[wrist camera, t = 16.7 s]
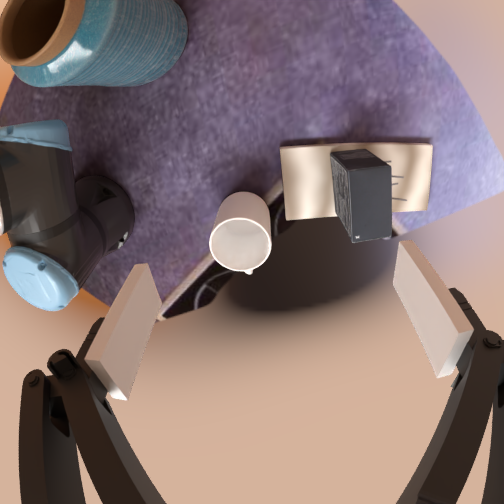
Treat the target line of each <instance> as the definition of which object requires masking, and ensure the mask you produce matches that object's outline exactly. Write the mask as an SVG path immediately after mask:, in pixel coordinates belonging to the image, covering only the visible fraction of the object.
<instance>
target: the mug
mask: <svg viewBox="0 0 504 504" xmlns="http://www.w3.org/2000/svg"><path fill="white" fill-rule="evenodd" d="M209 246H210V250H211V253H212V255H213V257H214V258H215V259H216V261H217V262H218V263H220V264H221V265H222V266H224V267H226V268H228V269H231V270H235V271H245V272H246V273H247V274H251V273H252V269H254V268H257V267H258V266H260V265H261V264H263V263H264V261H265V260H266V259H267V258H268V256H269V254H270V250H271V229H270V214H269V209H268V207H267V205H266V203H265V202H264V201H263V200H262V199H261V198H260V197H259V196H257V195H256V194H253V193H250V192H237V193H234V194H232V195H230V196H228V197H227V198H226V199H225V200H224V201H223V202H222V204H221V205H220V208H219V210H218V213H217V216H216V220H215V223H214V226H213V229H212V233H211V236H210V241H209Z"/></svg>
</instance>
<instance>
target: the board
mask: <svg viewBox="0 0 504 504" xmlns="http://www.w3.org/2000/svg"><path fill="white" fill-rule="evenodd" d="M432 147H433V145H431V144H429V143H336V144H315V145H300V146H287V147H280V157H281V168H282V179H283V190H284V202H285V214H286V220H295V219H306V218H318V217H330V216H337V214H336V213H335V202H334V192H333V180H332V169H331V160H330V153H331V152H336V151H346V150H356V149H367V150H368V151H370V152H371V153H373V154H374V155H376V156H377V157H378V158H380V159H381V160H383V161H384V162H386V163H387V164H389V165H390V166H391V167H392V212H404V211H421V210H427V206H428V198H429V189H430V178H431V165H432Z"/></svg>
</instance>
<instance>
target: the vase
mask: <svg viewBox="0 0 504 504" xmlns="http://www.w3.org/2000/svg"><path fill="white" fill-rule="evenodd" d="M187 36H188V25H187V20H186V17H185V14H184V12H183V11H182V9H181V7H180V6H179V5H178V4H177V3H176V2H175V1H174V0H9V1H8V2H7V4H6V6H5V8H4V10H3V12H2V14H1V17H0V56H1V57H2V59H3V60H4V61H5V62H7V63H8V64H10V65H11V67H12V69H13V71H14V73H15V74H16V75H17V76H18V78H20V79H21V80H22V81H23V82H25V83H27V84H29V85H32V86H35V87H55V86H83V85H87V86H89V85H90V86H93V85H94V86H96V85H98V86H114V87H116V86H119V87H134V86H140V85H144V84H147V83H150V82H152V81H154V80H156V79H158V78H160V77H161V76H163V75H164V74H165V73H167V72H168V71H169V70H170V69H171V68H172V67H173V66H174V65H175V63H176V62H177V61H178V59H179V58H180V56H181V54H182V52H183V50H184V48H185V45H186V41H187Z"/></svg>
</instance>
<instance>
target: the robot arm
mask: <svg viewBox="0 0 504 504" xmlns="http://www.w3.org/2000/svg"><path fill="white" fill-rule="evenodd" d="M71 152H72V148H71V147H70V140H69V133H68V127H67V125H66V124H65V123H64V122H63V121H62V120H58V119H54V120H45V121H37V122H30V123H24V124H18V125H12V126H7V127H1V128H0V236H1V235H3V234H4V233H6V232H7V234H8V238H9V241H10V244H11V248H9V249H8V250H7V251H6V254H5V256H4V260H3V270H4V273H5V275H6V278H7V280H8V282H9V283H10V284H11V286H12V287H13V289H14V290H15V291H16V292H17V293H18V294H19V295H20V296H21V297H22V298H23V299H25V300H26V301H27V302H29V303H30V304H32V305H34V306H36V307H38V308H40V309H43V310H47V311H58V310H61V309H63V308H65V307H66V306H67V305H68V304H69V302H70V301H71V300H72V299H73V297H75V296H76V295H77V294H78V292H79V290H80V289H81V287H82V286H83V284H84V283H85V281H86V280H87V278H88V277H89V275H90V274H91V272H92V271H93V269H94V268H95V267H96V265H97V264H98V262H99V261H100V259H101V258H102V257H104V256H106V255H108V254H110V253H112V252H114V251H116V250H118V249H119V248H120V247H122V246H123V245H124V243H125V242H126V241H127V239H128V238H129V237H130V235H131V233H132V230H133V227H134V212H133V207H132V204H131V202H130V200H129V198H128V196H127V195H126V193H125V192H124V191H123V189H122V188H121V187H120V186H119V185H117V184H116V183H115V182H113V181H112V180H110V179H108V178H105V177H102V176H95V175H93V176H87V177H84V178H82V179H80V180H78V181H77V182H76V183H75V178H74V171H73V163H72V155H71ZM393 285H394V287H395V289H396V291H397V293H398V295H399V297H400V299H401V301H402V303H403V305H404V307H405V309H406V311H407V313H408V315H409V317H410V319H411V321H412V323H413V325H414V328H415V329H416V332H417V334H418V336H419V338H420V340H421V343H422V345H423V347H424V349H425V351H426V354H427V356H428V358H429V361H430V363H431V365H432V367H433V370H434V372H435V375H436V377H437V378H439V377H443V376H447V375H450V374H452V372H453V370H454V368H455V367H456V366H457V368H458V370H459V373H458V375H457V377H456V379H455V380H454V382H453V384H452V385H451V387H453V389H452V391H451V394H450V397H449V399H448V402H447V405H446V407H445V410H444V412H443V415H442V417H441V420H440V422H439V424H438V426H437V429H436V431H435V433H434V435H433V437H432V440H431V442H430V444H429V446H428V448H427V450H426V452H425V454H424V456H423V458H422V460H421V462H420V464H419V465H418V467H417V469H416V471H415V473H414V475H413V476H412V478H411V480H410V482H409V483H408V485H407V487H406V488H405V490H404V492H403V493H402V495H401V496H400V498H399V500H398V501H397V503H396V504H456V502H457V500H458V498H459V496H460V494H461V491H462V489H463V487H464V485H465V483H466V480H467V478H468V475H469V473H470V471H471V468H472V466H473V463H474V461H475V458H476V455H477V453H478V450H479V447H480V444H481V441H482V438H483V435H484V432H485V429H486V426H487V422H488V419H489V415H490V412H491V408H492V404H493V420H492V435H491V447H490V457H489V464H488V471H487V477H486V483H485V488H484V494H483V499H482V503H481V504H504V340H502V339H501V337H500V336H499V335H498V334H497V333H495V332H493V331H489V330H486V328H485V327H484V325H483V324H482V322H481V321H480V319H479V318H478V316H477V314H476V313H475V311H474V310H473V309H472V307H471V305H470V304H469V303H468V301H467V300H466V298H465V297H464V295H463V294H462V293H461V292H459V291H458V290H457V289H455V288H450V289H448V288H447V287H446V285H445V284H444V282H443V281H442V280H441V278H440V277H439V275H438V274H437V273H436V271H435V270H434V269H433V267H432V266H431V264H430V263H429V262H428V260H427V259H426V258H425V257H424V255H423V254H422V253H421V251H420V250H419V248H418V247H417V246H416V245H415V243H414V242H413V241H412V240H407V241H400V242H399V247H398V255H397V261H396V267H395V273H394V279H393ZM161 305H162V302H161V299H160V297H159V294H158V291H157V289H156V286H155V283H154V280H153V278H152V275H151V272H150V269H149V266H148V263H146V264H135V265H134V267H133V269H132V271H131V272H130V274H129V276H128V277H127V279H126V281H125V283H124V284H123V286H122V288H121V290H120V291H119V293H118V295H117V297H116V299H115V300H114V302H113V304H112V306H111V308H110V310H109V311H108V313H107V315H106V317H105V318H99V319H98V320H97V321H96V322H95V323H94V324H93V326H92V327H91V329H90V331H89V334H88V335H87V337H86V339H85V341H84V343H83V344H82V346H81V348H80V350H79V352H78V354H77V356H76V358H75V357H74V356H73V354H72V353H71V351H69V350H67V349H62V350H58V351H56V352H55V353H54V354H52V356H51V357H50V358H49V360H48V362H47V367H48V369H49V370H50V371H51V372H52V374H53V375H51V376H46V375H45V374H44V373H43V372H42V371H41V370H39V369H36V370H33V371H31V372H29V373H28V374H27V375H26V377H25V378H24V381H23V386H22V395H21V407H20V423H19V478H20V493H21V502H22V504H86V503H85V497H84V492H83V487H82V481H81V475H80V469H79V462H78V455H77V447H76V443H77V446H78V449H79V451H80V454H81V456H82V459H83V461H84V463H85V466H86V468H87V471H88V473H89V475H90V478H91V480H92V482H93V484H94V486H95V489H96V491H97V493H98V495H99V497H100V499H101V501H102V503H103V504H166V503H165V501H164V500H163V498H162V497H161V495H160V494H159V492H158V491H157V489H156V488H155V486H154V485H153V483H152V482H151V480H150V478H149V477H148V475H147V474H146V472H145V470H144V469H143V467H142V465H141V464H140V462H139V460H138V458H137V457H136V455H135V453H134V451H133V450H132V448H131V446H130V444H129V442H128V441H127V439H126V437H125V435H124V433H123V431H122V429H121V427H120V425H119V423H118V421H117V419H116V417H115V415H114V413H113V411H112V408H111V406H110V404H109V402H108V401H107V399H106V398H105V397H106V394H107V392H109V393H110V395H111V396H112V397H113V398H114V399H122V400H128V398H129V395H130V392H131V389H132V386H133V383H134V380H135V377H136V374H137V371H138V368H139V365H140V362H141V359H142V356H143V354H144V351H145V348H146V345H147V342H148V339H149V337H150V334H151V331H152V329H153V326H154V323H155V320H156V318H157V315H158V312H159V310H160V307H161Z"/></svg>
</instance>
